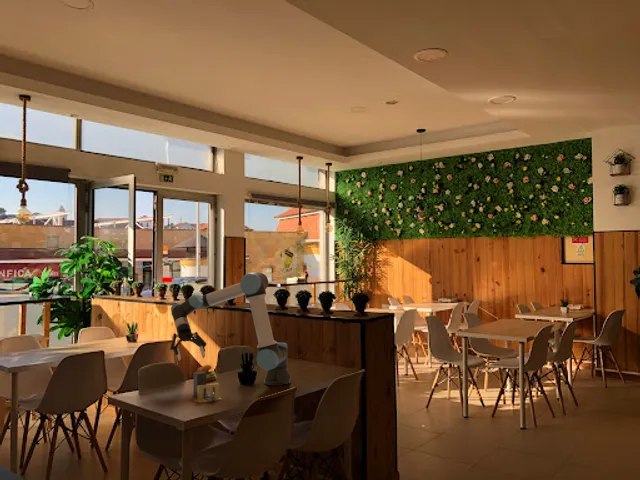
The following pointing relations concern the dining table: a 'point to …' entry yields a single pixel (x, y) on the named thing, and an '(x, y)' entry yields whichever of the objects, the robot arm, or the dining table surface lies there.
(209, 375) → the cheeseburger
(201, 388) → the eye bracket
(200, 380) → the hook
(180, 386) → the dining table surface
